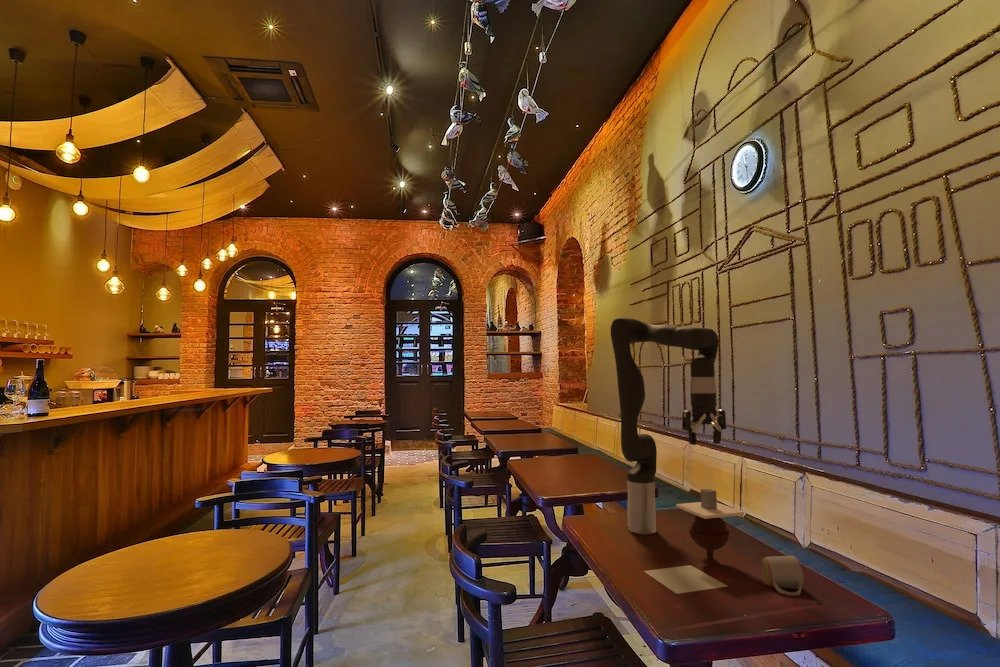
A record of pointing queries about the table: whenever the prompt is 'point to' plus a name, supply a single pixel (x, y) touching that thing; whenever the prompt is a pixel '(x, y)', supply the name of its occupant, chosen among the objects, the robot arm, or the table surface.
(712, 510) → the cover board
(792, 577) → the ceramic mug
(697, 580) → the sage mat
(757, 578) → the table surface
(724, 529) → the ice cream bowl
